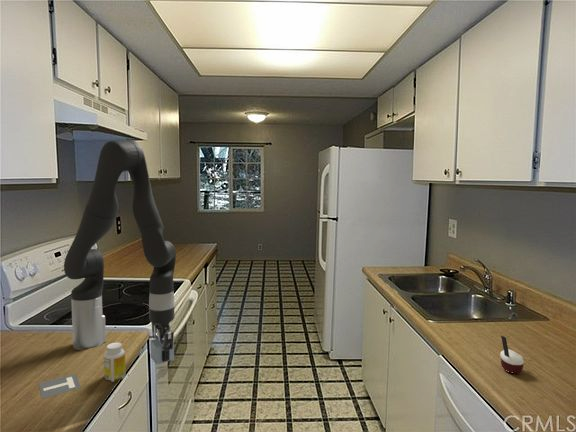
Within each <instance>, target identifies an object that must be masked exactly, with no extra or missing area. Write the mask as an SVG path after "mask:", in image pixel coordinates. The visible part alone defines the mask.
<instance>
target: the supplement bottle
mask: <svg viewBox="0 0 576 432" xmlns="http://www.w3.org/2000/svg"><path fill="white" fill-rule="evenodd" d="M103 367H104V368H103V370H104V371H103V373H104V374H103V375H104V380H105V381H107V382H117V381H120V380H123V379H124V378H125V377H126V375H127V374H126V373H127V372H126V351H125V349H124V348H123V345H122V343H121V342H112V343H109V344H108V345H106V350H105V352H104V354H103Z"/></svg>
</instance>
